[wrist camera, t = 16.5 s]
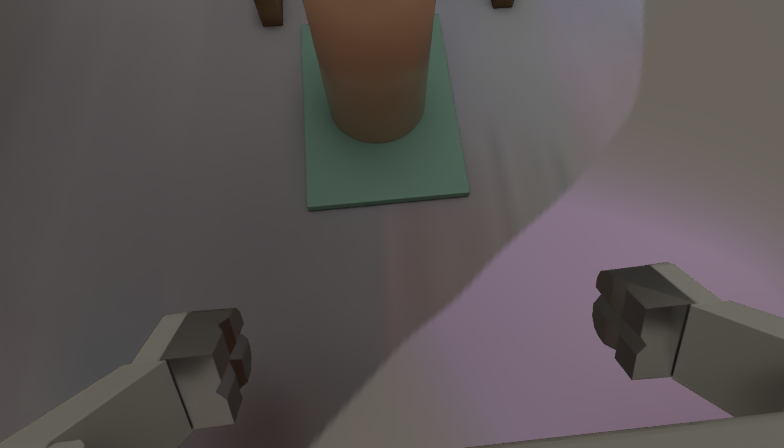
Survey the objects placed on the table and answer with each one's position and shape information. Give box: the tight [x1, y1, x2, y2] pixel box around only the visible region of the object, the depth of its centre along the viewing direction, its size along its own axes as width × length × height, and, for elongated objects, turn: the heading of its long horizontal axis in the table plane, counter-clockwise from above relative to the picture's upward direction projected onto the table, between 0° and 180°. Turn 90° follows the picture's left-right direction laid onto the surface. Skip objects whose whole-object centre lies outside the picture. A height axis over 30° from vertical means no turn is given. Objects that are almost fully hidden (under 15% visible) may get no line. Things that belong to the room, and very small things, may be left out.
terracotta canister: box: [303, 0, 436, 144], centre depth 16 cm, size 4×4×10 cm
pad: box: [301, 14, 470, 211], centre depth 21 cm, size 7×10×1 cm
